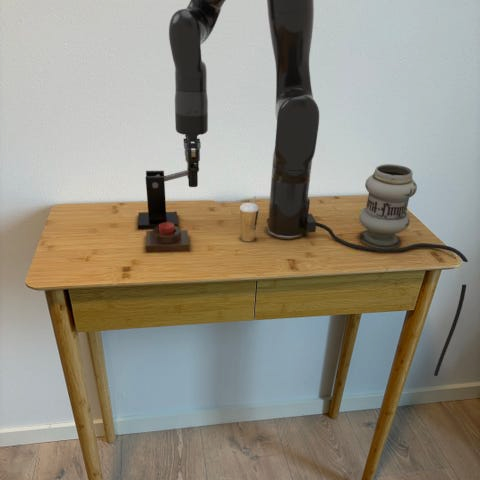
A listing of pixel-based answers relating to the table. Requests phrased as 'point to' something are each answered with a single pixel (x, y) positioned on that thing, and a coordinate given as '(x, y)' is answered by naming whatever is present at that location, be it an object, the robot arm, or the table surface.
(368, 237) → the apothecary jar
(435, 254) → the table surface
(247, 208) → the milkshake
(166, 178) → the switch lever
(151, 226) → the switch bracket
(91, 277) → the table surface
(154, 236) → the button block
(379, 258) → the table surface
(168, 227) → the button
